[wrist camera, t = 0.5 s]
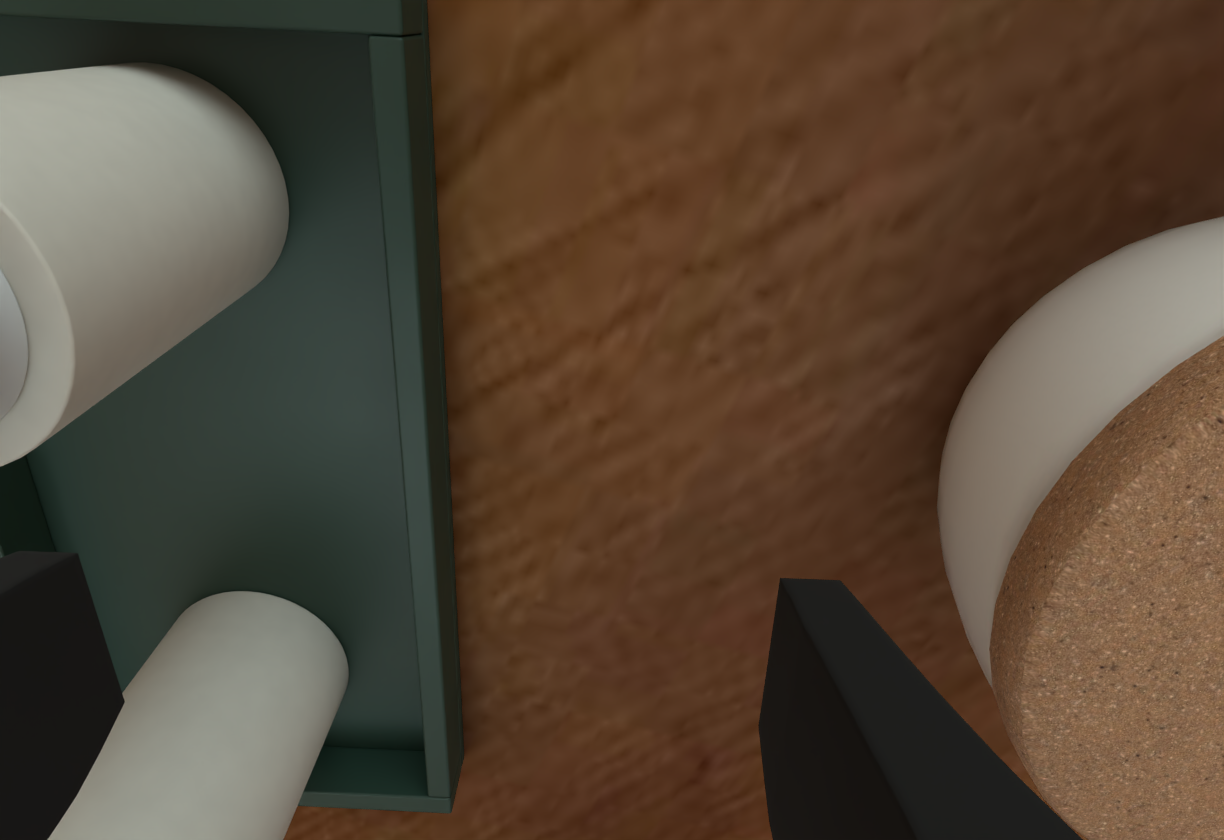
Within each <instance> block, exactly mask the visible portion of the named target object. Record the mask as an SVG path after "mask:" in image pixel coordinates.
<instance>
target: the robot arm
mask: <svg viewBox="0 0 1224 840" xmlns="http://www.w3.org/2000/svg"><path fill="white" fill-rule="evenodd" d="M124 703H125V701H124V697H123V694H122V691H121V688H120V685H119V682H118V678H117V675H116V672H115V669H114V666H113V663H112V660H111V656H110V653H109V650H108V647H107V644H106V641H105V637H104V634H103V631H102V628H101V625H100V622H99V618H98V615H97V612H96V609H95V606H94V603H93V599H92V596H91V593H90V590H89V587H88V584H87V581H86V577H85V574H84V571H83V568H82V565H81V562H80V558H79V555H78V553H66V552H38V551H17V552H15V553H12V554H10V555H7V556H5V557H2V558H0V840H48V838H49V837H50V835H51V834H52V832H53V831H54V829H55V828H56V826H57V825H58V824H59V822H60V821H61V819H62V817H63V816H64V814H65V813H66V811H67V810H68V808H69V807H70V805H71V804H72V802H73V801H74V799H75V798H76V796H77V794H78V792H79V791H80V789H81V787H82V785H83V783H84V781H85V780H86V778H87V776H88V774H89V772H90V770H91V768H92V767H93V765H94V763H95V761H96V759H97V757H98V756H99V754H100V752H101V750H102V748H103V746H104V744H105V742H106V740H107V738H108V735H109V733H110V731H111V729H112V727H113V725H114V723H115V721H116V719H117V717H118V715H119V713H120V711H121V709H122V707H123V705H124ZM759 734H760V743H761V753H762V762H763V772H764V781H765V789H766V798H767V806H768V814H769V822H770V827H771V832H772V837H773V840H1082V839H1081V838H1080V837H1079V836H1078V835H1077V834H1076V833H1075V832H1074V831H1073V830H1072V829H1071V828H1070V827H1069V826H1068V825H1067V824H1066V823H1065V822H1064V821H1063V820H1062V819H1061V818H1060V817H1059V816H1058V815H1057V814H1056V813H1054V812H1053V811H1052V810H1051V809H1050V808H1049V807H1048V806H1047V805H1046V804H1045V803H1044V802H1043V801H1042V800H1041V799H1040V798H1039V797H1038V796H1037V795H1036V794H1035V793H1034V792H1033V791H1032V790H1031V789H1030V788H1029V787H1028V786H1027V785H1026V784H1025V783H1024V782H1023V781H1022V780H1021V779H1020V778H1019V777H1018V776H1017V775H1016V774H1015V773H1014V772H1013V771H1012V770H1011V769H1010V768H1009V767H1008V766H1007V765H1006V764H1005V763H1004V762H1003V761H1002V760H1001V759H1000V758H999V757H998V756H997V755H996V754H995V753H994V752H993V751H992V749H991V748H990V747H989V746H988V745H987V744H986V743H985V742H984V741H983V740H982V739H981V738H980V737H979V736H978V734H977V733H976V732H975V731H974V730H973V729H972V728H971V727H970V726H969V725H968V724H967V723H966V722H965V721H964V720H963V718H962V717H961V716H960V715H959V714H958V713H957V712H956V711H955V710H954V709H953V708H952V707H951V706H950V705H949V703H948V702H947V701H946V700H945V699H944V698H943V697H942V696H941V695H940V694H939V692H938V691H937V690H936V689H935V688H934V687H933V686H932V685H931V684H930V682H929V681H928V680H927V679H926V678H925V677H924V676H923V675H922V673H921V672H920V671H919V670H918V669H917V668H916V667H915V665H914V664H913V663H912V662H911V661H910V660H909V659H908V658H907V656H906V655H905V654H904V653H903V652H902V651H901V650H900V648H899V647H898V646H897V645H896V644H895V643H894V641H893V640H892V639H891V638H890V637H889V636H888V635H887V633H886V632H885V631H884V630H883V629H882V628H881V626H880V625H879V624H878V623H877V622H876V621H875V619H874V618H873V617H872V616H871V615H870V614H869V612H868V611H867V610H866V609H865V608H864V607H863V606H862V604H861V603H860V602H859V601H858V600H857V599H856V598H855V596H854V595H853V594H852V593H851V592H850V591H849V590H848V589H847V587H846V586H845V585H844V584H843V583H842V582H841V581H840V580H817V579H789V578H780V583H779V590H778V597H777V604H776V610H775V617H774V624H773V631H772V638H771V645H770V651H769V658H768V665H767V672H766V679H765V686H764V692H763V699H762V706H761V713H760V720H759Z"/></svg>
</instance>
